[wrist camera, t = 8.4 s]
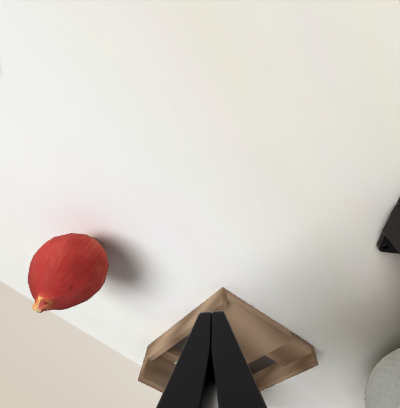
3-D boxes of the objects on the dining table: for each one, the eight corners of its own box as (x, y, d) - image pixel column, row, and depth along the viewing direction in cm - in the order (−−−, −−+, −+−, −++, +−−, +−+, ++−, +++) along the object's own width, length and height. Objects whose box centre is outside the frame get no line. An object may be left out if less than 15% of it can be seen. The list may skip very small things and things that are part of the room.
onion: (125, 266, 26) (85, 343, 19) (70, 260, 26) (12, 334, 19) (117, 218, 23) (67, 288, 16) (56, 212, 23) (-19, 278, 16)
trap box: (222, 287, 26) (221, 323, 22) (313, 346, 29) (324, 386, 25) (148, 345, 32) (137, 380, 29) (228, 388, 35) (227, 424, 32)
